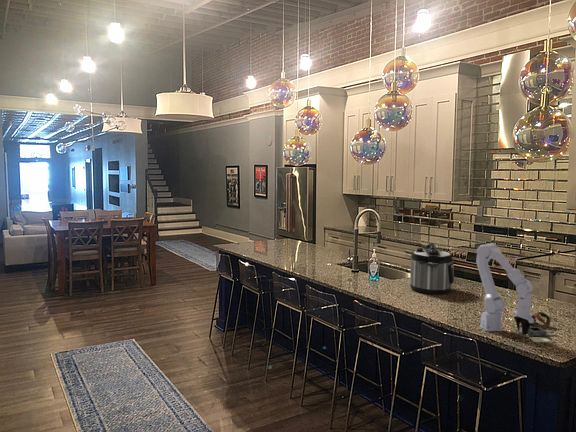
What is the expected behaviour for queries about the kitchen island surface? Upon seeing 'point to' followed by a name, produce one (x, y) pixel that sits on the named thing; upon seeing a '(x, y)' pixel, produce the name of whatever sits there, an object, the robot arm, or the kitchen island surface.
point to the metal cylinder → (521, 331)
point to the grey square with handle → (538, 332)
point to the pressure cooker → (431, 270)
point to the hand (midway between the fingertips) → (522, 332)
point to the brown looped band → (541, 319)
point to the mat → (540, 339)
